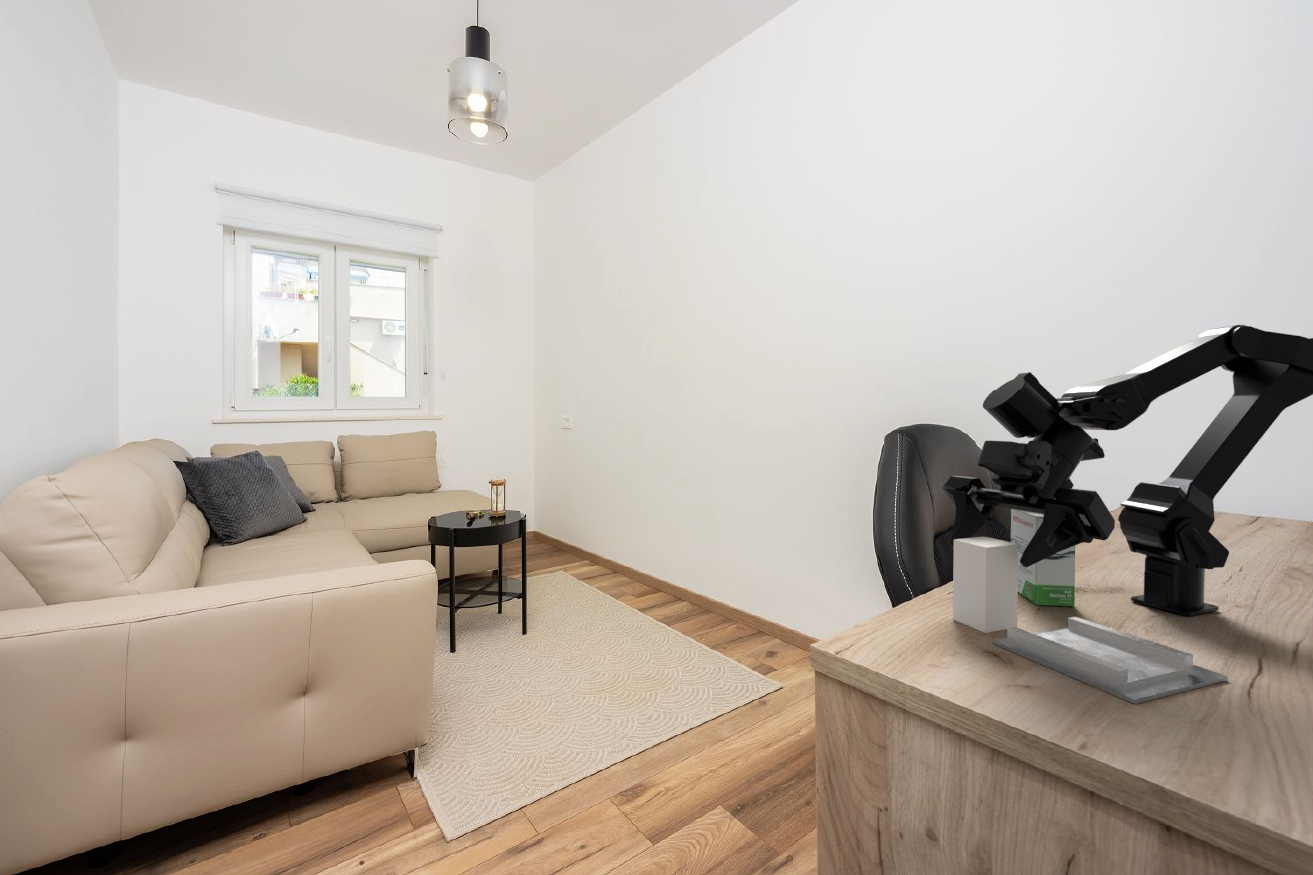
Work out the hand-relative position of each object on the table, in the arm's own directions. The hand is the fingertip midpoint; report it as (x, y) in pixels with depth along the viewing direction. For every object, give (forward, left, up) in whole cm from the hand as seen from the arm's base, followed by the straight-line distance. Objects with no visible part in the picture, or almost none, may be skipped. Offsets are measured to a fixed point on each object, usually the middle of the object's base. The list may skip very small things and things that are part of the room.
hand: (985, 555), depth 69 cm
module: (0, 0, -8) cm, 8 cm away
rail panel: (-1, +12, -8) cm, 15 cm away
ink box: (-16, -5, -8) cm, 18 cm away
